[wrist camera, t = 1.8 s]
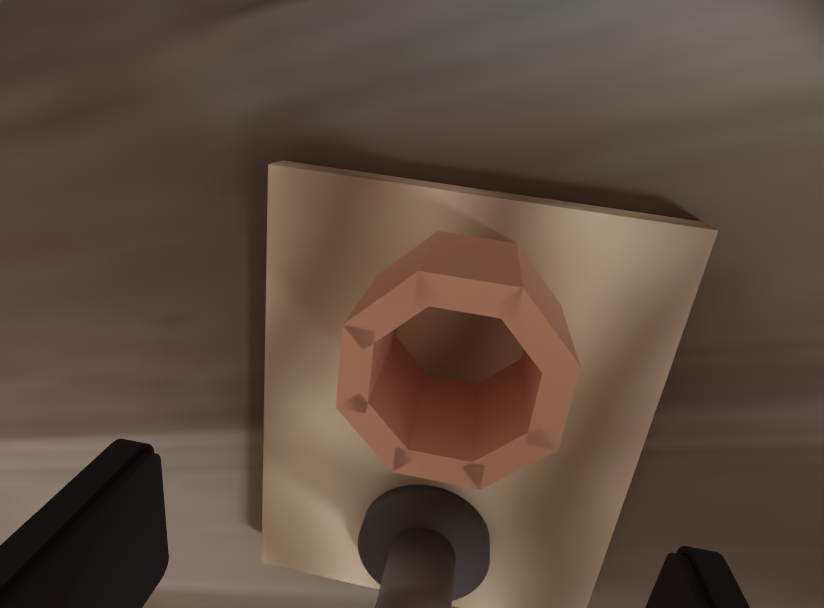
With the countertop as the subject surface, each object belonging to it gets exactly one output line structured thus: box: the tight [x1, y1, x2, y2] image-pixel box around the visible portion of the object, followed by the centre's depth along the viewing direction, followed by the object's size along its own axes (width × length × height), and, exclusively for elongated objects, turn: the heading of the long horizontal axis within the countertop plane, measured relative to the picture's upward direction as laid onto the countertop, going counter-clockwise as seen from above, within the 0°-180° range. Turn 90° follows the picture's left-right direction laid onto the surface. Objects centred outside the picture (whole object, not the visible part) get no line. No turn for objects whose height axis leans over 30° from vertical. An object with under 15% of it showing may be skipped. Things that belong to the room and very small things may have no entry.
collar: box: [336, 231, 581, 490], centre depth 18 cm, size 7×7×5 cm
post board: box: [261, 160, 718, 608], centre depth 20 cm, size 16×20×8 cm
